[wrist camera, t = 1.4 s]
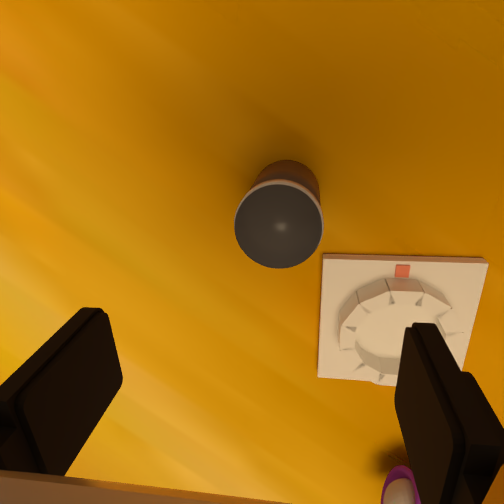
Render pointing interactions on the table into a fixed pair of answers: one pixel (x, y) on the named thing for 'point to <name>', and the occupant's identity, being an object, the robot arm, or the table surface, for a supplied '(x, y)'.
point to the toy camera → (400, 487)
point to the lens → (280, 216)
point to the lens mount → (392, 310)
